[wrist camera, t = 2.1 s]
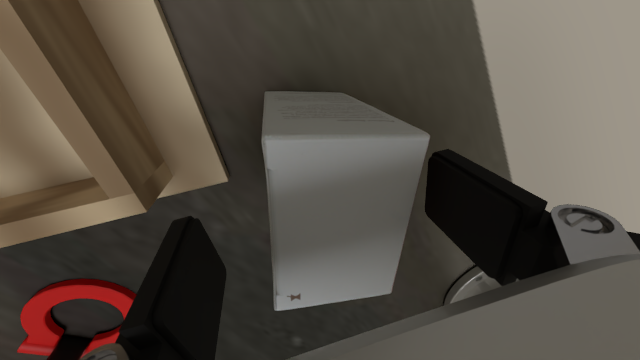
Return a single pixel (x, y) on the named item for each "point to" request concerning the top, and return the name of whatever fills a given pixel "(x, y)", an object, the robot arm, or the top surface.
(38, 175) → the well
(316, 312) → the top surface
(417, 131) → the small box
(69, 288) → the tow hook
